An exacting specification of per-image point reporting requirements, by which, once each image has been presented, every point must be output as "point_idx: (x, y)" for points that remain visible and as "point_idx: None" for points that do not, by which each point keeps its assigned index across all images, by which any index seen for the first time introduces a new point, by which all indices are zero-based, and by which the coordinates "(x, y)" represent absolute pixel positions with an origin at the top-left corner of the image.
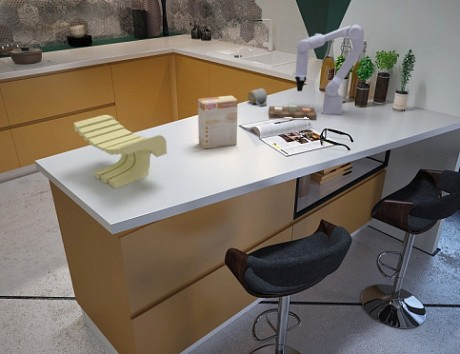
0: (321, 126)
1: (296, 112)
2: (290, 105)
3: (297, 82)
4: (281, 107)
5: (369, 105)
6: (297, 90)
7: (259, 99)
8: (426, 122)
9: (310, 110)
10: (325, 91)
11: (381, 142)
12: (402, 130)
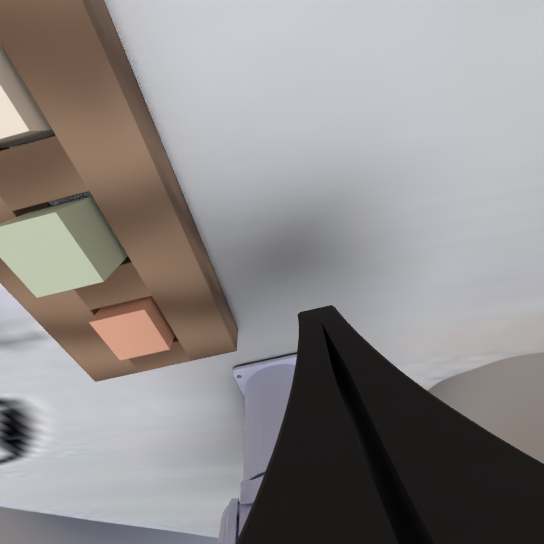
0: (30, 386)
1: None
2: (36, 237)
3: (275, 462)
4: (10, 126)
5: None
6: (302, 316)
7: None
8: None
9: (119, 359)
10: (225, 532)
11: (33, 506)
12: (178, 517)
